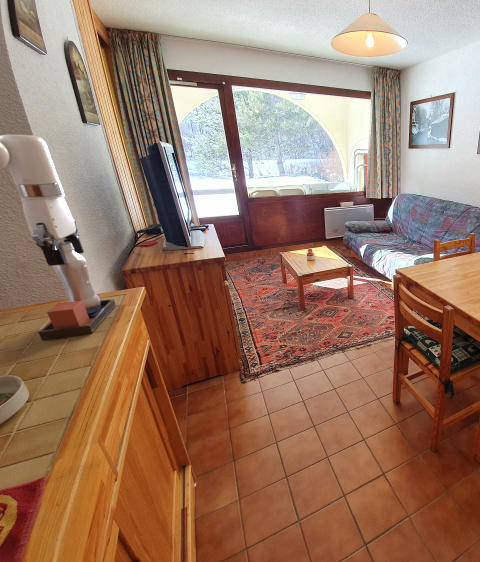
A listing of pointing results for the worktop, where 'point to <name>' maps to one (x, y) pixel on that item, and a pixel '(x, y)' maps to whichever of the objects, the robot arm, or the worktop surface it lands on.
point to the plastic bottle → (76, 278)
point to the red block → (68, 315)
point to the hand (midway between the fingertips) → (67, 258)
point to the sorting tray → (89, 328)
